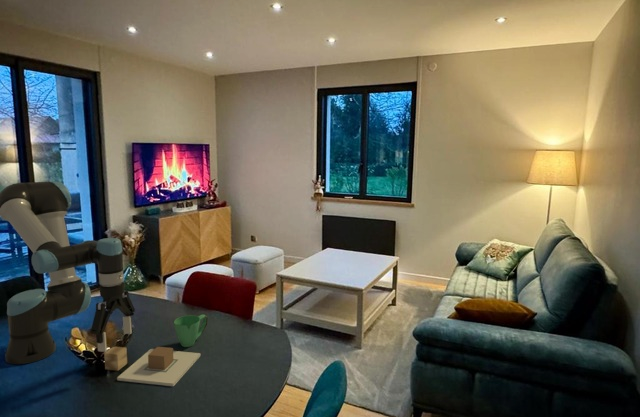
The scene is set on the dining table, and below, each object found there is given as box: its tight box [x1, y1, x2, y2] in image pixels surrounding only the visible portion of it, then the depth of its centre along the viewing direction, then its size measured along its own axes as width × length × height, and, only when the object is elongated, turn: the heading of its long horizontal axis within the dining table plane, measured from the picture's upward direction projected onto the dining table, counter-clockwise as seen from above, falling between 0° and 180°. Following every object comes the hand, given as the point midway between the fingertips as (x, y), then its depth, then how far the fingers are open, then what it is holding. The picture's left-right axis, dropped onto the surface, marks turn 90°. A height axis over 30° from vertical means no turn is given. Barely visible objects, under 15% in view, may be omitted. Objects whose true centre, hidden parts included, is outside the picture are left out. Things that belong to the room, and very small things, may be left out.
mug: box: [173, 314, 208, 348], centre depth 159 cm, size 15×10×10 cm
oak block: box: [103, 346, 128, 371], centre depth 140 cm, size 5×5×6 cm
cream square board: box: [116, 346, 201, 387], centre depth 140 cm, size 20×20×6 cm
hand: (115, 341), depth 139 cm, fingers open, 13 cm apart
